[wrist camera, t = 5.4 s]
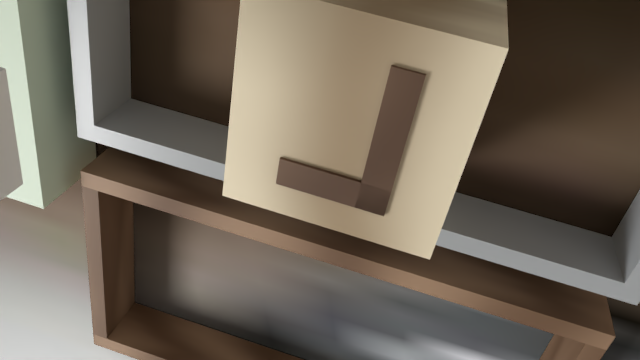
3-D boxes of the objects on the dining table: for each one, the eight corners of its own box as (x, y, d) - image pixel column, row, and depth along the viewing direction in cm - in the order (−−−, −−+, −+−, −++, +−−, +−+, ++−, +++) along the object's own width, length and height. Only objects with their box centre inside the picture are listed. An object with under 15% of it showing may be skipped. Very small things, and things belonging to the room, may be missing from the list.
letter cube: (287, 110, 21) (220, 197, 16) (314, -62, 18) (240, -19, 13) (449, 156, 20) (433, 263, 15) (509, -14, 17) (513, 51, 12)
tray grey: (115, 109, 23) (77, 137, 21) (105, -182, 17) (52, -183, 15) (622, 257, 20) (636, 305, 18) (799, -28, 15) (848, -5, 13)
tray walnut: (122, 307, 29) (94, 344, 27) (116, 141, 24) (80, 170, 22) (509, 439, 27) (510, 490, 25) (604, 287, 21) (615, 336, 19)
